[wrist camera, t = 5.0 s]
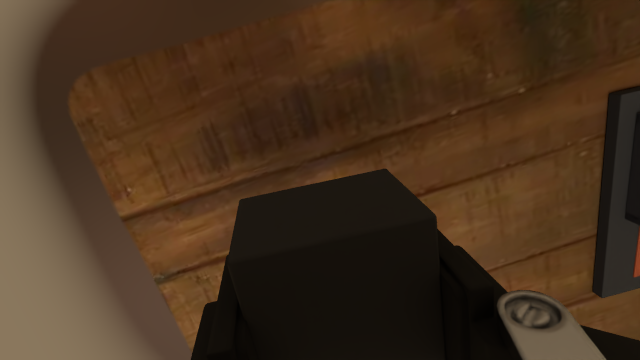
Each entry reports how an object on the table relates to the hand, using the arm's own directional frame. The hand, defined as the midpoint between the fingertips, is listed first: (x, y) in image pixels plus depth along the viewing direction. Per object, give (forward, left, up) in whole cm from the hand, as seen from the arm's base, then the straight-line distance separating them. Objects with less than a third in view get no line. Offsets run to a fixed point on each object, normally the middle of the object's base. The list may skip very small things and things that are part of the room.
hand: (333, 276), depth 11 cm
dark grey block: (0, 0, -1) cm, 1 cm away
